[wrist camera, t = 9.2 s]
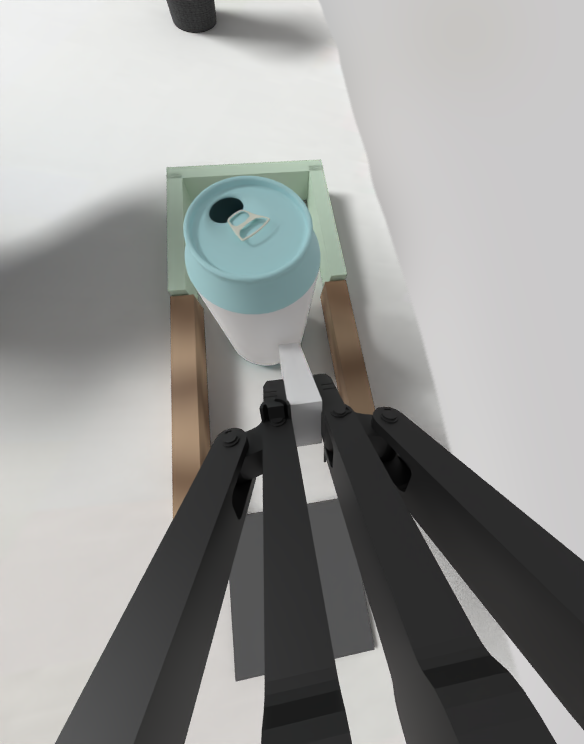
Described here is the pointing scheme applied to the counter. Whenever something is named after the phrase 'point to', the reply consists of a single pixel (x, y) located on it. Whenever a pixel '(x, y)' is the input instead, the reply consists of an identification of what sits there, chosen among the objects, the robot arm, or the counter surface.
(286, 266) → the can
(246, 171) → the corral
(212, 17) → the coffee cup
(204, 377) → the channel
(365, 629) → the pit mat
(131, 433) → the counter surface
